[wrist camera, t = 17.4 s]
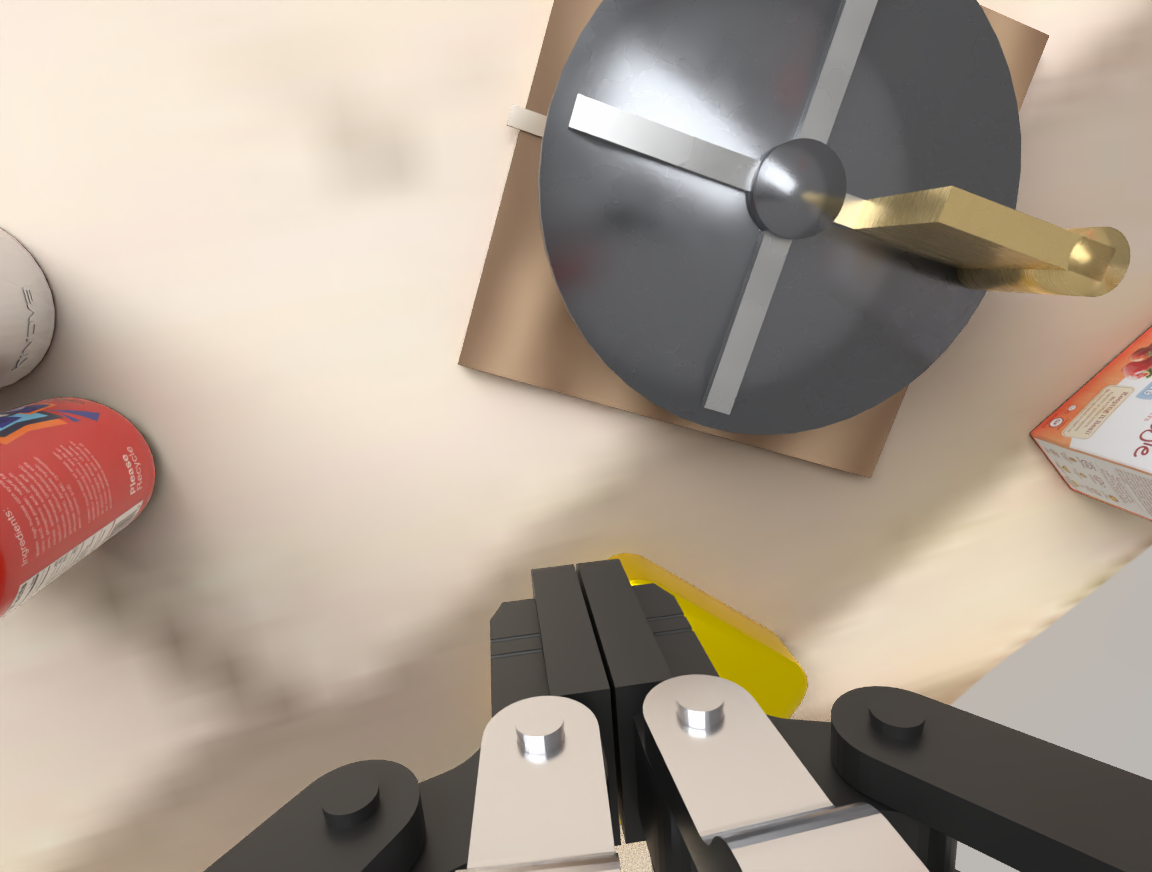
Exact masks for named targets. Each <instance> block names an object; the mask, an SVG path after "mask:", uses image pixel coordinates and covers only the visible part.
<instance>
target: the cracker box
mask: <svg viewBox="0 0 1152 872" xmlns="http://www.w3.org/2000/svg"><path fill="white" fill-rule="evenodd" d="M1030 435H1031V436H1032V437H1033V439H1034V440H1035V441H1036V443H1037V444H1038V446H1039V447H1040V448H1041V450H1042V451H1043V452H1044V454H1045V455H1046V456H1047V458H1048V459H1049V460H1050V462H1051V463H1052V464H1053V466H1054V467H1055V468H1056V470H1057V471H1058V472H1059V474H1060V475H1061V476H1062V478H1063V479H1064V480H1065V482H1066V483H1067V484H1068V486H1069V487H1070V489H1072V490H1074V491H1076V492H1079V493H1081V494H1084V495H1086V496H1088V497H1091V498H1093V499H1096V500H1099V501H1101V502H1104V503H1106V504H1109V505H1111V506H1114V507H1116V508H1119V509H1121V510H1124V511H1126V512H1129V513H1131V514H1134V515H1136V516H1139V517H1142V518H1144V519H1147V520H1149V521H1152V327H1150V328H1149V329H1148V330H1147V331H1146V332H1145V333H1144V334H1142V335H1141V336H1140V337H1139V338H1138V339H1137V340H1136V341H1135V342H1133V343H1132V344H1131V345H1130V346H1129V347H1128V348H1126V349H1125V350H1124V351H1123V352H1122V353H1121V354H1120V355H1119V356H1117V357H1116V358H1115V359H1114V360H1113V361H1112V362H1111V363H1109V364H1108V365H1107V366H1106V367H1105V368H1103V369H1102V370H1101V371H1100V372H1099V373H1098V374H1097V375H1096V376H1095V377H1093V378H1092V379H1091V380H1090V381H1089V382H1088V383H1087V384H1085V385H1084V386H1083V387H1082V388H1081V389H1080V390H1079V391H1077V392H1076V393H1075V394H1074V395H1073V396H1072V397H1071V398H1070V399H1068V400H1067V401H1066V402H1065V403H1064V404H1063V405H1061V406H1060V407H1059V408H1058V409H1057V410H1056V411H1055V412H1053V413H1052V414H1051V415H1050V416H1049V417H1048V418H1047V419H1046V420H1045V421H1043V422H1042V423H1041V424H1040V425H1039V426H1038V427H1036V428H1035V429H1034V430H1033V431H1032V432H1031V433H1030Z"/></svg>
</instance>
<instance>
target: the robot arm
mask: <svg viewBox="0 0 1152 872" xmlns="http://www.w3.org/2000/svg"><path fill="white" fill-rule="evenodd" d="M54 320H55V309H54V304H53V299H52V294H51V290H50V288H49V285H48V283H47V281H46V279H45V276H44V274H43V272H42V270H41V269H40V267H39V266H38V264H37V263H36V262H35V260H34V259H33V257H32V256H31V254H30V253H29V252H28V251H27V250H26V249H25V248H24V247H23V246H22V245H21V244H20V243H19V242H18V241H17V240H16V239H15V238H14V237H12V236H11V235H9V234H8V233H6V232H5V231H4V230H2V229H1V228H0V388H1V387H4V386H7V385H10V384H13V383H15V382H16V381H18V380H19V379H21V378H23V377H24V376H26V375H27V374H29V373H30V372H31V371H32V370H33V369H34V368H35V367H36V366H37V365H38V364H39V362H40V361H41V360H42V358H43V357H44V355H45V353H46V351H47V349H48V348H49V346H50V343H51V339H52V335H53V331H54ZM531 576H532V587H533V597H534V599H527V600H519V601H511V602H504V603H502V604H501V606H500V607H499V609H498V610H497V611H496V613H495V614H494V616H493V617H492V619H491V620H490V638H491V697H492V719H491V720H490V721H489V723H488V724H487V726H486V728H485V730H484V732H483V736H482V743H481V748H480V749H479V750H478V751H477V752H476V753H475V754H474V755H473V756H472V757H470V758H469V759H468V760H467V761H465V762H464V763H462V764H461V765H459V766H457V767H456V768H454V769H452V770H450V771H448V772H446V773H443V774H441V775H438V776H436V777H434V778H431V779H429V780H426V781H424V782H421V783H419V784H418V781H417V779H416V777H415V776H414V774H413V773H412V772H411V771H410V770H409V769H408V768H406V767H404V766H403V765H401V764H398V763H395V762H392V761H386V760H366V761H360V762H355V763H351V764H348V765H345V766H342V767H339V768H337V769H335V770H333V771H331V772H328V773H327V774H325V775H323V776H322V777H320V778H318V779H317V780H316V781H314V782H313V783H311V784H310V785H309V786H308V787H306V788H305V789H304V790H303V791H301V792H300V793H299V794H298V795H297V796H295V797H294V798H293V799H292V800H290V801H289V802H288V803H287V804H286V805H284V806H283V807H282V808H281V809H279V810H278V811H277V812H276V813H275V814H273V815H272V816H271V817H270V818H268V819H267V820H266V821H265V822H264V823H262V824H261V825H260V826H259V827H257V828H256V829H255V830H254V831H253V832H251V833H250V834H249V835H248V836H246V837H245V838H244V839H243V840H241V841H240V842H239V843H238V844H237V845H235V846H234V847H233V848H232V849H230V850H229V851H228V852H227V853H226V854H224V855H223V856H222V857H221V858H219V859H218V860H217V861H216V862H215V863H213V864H212V865H211V866H210V867H208V868H207V869H206V870H205V871H204V872H621V869H620V862H619V857H618V853H615V847H614V846H618V845H621V839H620V824H619V817H620V821H621V825H622V830H623V834H624V838H625V842H626V844H628V843H634V842H640V841H646V842H647V846H648V850H649V853H650V857H651V862H652V872H960V871H958V870H956V869H955V860H956V849H957V841H960V842H961V843H963V844H966V845H968V846H970V847H972V848H974V849H976V850H978V851H980V852H982V853H984V854H986V855H988V856H990V857H992V858H994V859H996V860H998V861H1000V862H1002V863H1004V864H1007V865H1008V866H1010V867H1012V868H1014V869H1016V870H1019V871H1020V872H1152V780H1149V779H1146V778H1144V777H1141V776H1138V775H1135V774H1133V773H1130V772H1127V771H1125V770H1122V769H1119V768H1117V767H1114V766H1111V765H1109V764H1106V763H1103V762H1101V761H1098V760H1095V759H1092V758H1090V757H1087V756H1084V755H1082V754H1079V753H1076V752H1074V751H1070V750H1068V749H1065V748H1063V747H1060V746H1057V745H1055V744H1052V743H1049V742H1047V741H1044V740H1041V739H1038V738H1036V737H1033V736H1030V735H1028V734H1025V733H1022V732H1020V731H1017V730H1014V729H1011V728H1009V727H1006V726H1003V725H1001V724H998V723H995V722H992V721H990V720H987V719H984V718H982V717H979V716H976V715H974V714H971V713H968V712H966V711H963V710H960V709H957V708H955V707H952V706H949V705H947V704H944V703H941V702H939V701H936V700H933V699H930V698H928V697H925V696H922V695H920V694H917V693H914V692H911V691H907V690H903V689H898V688H892V687H882V686H872V687H863V688H857V689H854V690H851V691H848V692H847V693H845V694H843V695H841V696H840V697H839V698H838V699H837V700H836V701H835V703H834V704H833V707H832V710H831V722H818V721H805V720H793V719H785V718H779V717H774V716H770V715H767V714H765V713H764V711H763V710H762V709H761V707H760V706H759V705H758V703H757V702H756V701H755V699H754V698H753V697H752V696H751V695H750V694H749V692H747V691H746V690H745V689H744V688H742V687H741V686H739V685H737V684H736V683H734V682H731V681H729V680H727V679H723V678H720V677H719V675H718V673H717V671H716V670H715V668H714V666H713V664H712V662H711V661H710V659H709V657H708V655H707V654H706V652H705V650H704V648H703V646H702V645H701V643H700V641H699V639H698V638H697V636H696V634H695V632H694V631H692V627H691V625H690V623H689V622H688V620H687V618H686V617H684V613H683V611H682V609H681V607H680V606H679V604H678V602H677V600H676V599H675V597H674V596H673V595H672V594H670V593H669V592H667V591H665V590H664V589H662V588H661V587H659V586H658V585H656V584H655V583H649V584H642V585H634V586H631V584H630V581H629V579H628V577H627V575H626V572H625V570H624V568H623V566H622V564H621V561H620V559H611V560H603V561H595V562H587V563H579V564H576V571H575V567H574V565H573V564H572V565H564V566H556V567H548V568H540V569H532V570H531Z"/></svg>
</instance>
